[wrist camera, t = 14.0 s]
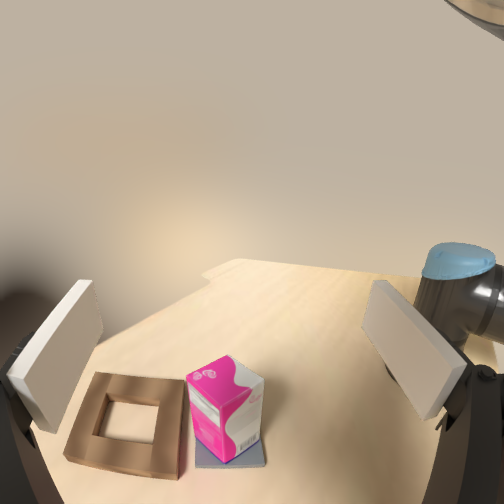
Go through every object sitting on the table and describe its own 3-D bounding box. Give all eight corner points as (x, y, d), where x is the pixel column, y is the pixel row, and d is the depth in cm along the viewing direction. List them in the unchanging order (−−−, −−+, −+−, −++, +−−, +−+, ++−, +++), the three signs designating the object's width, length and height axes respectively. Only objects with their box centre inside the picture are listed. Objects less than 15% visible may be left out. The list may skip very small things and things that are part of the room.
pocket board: (185, 388, 40) (184, 380, 39) (177, 480, 25) (175, 474, 25) (98, 379, 39) (95, 371, 38) (68, 460, 24) (62, 453, 23)
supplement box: (227, 415, 35) (229, 351, 31) (259, 441, 31) (269, 380, 27) (192, 436, 31) (184, 373, 27) (224, 466, 27) (223, 408, 23)
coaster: (256, 418, 36) (257, 415, 35) (264, 466, 28) (264, 463, 28) (197, 419, 35) (196, 415, 34) (195, 467, 27) (195, 464, 27)
